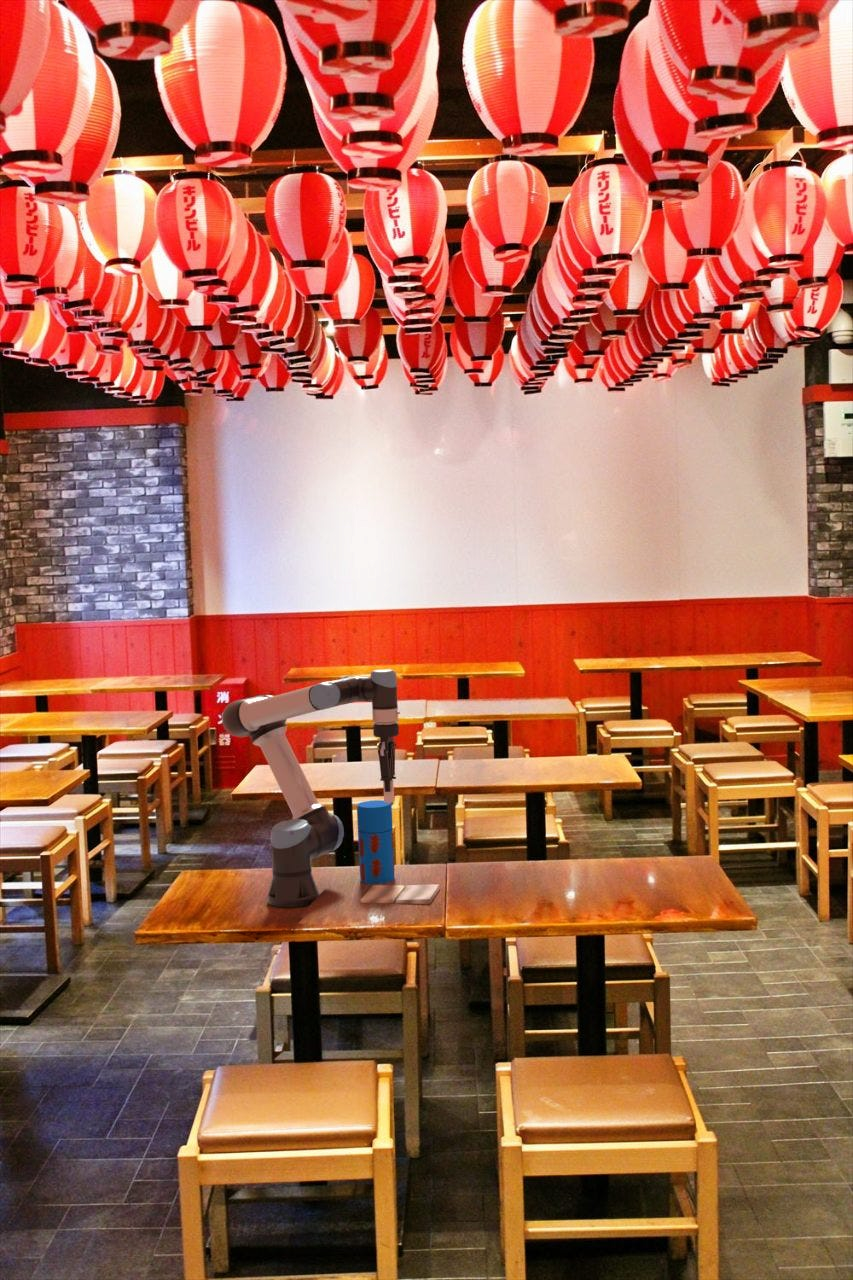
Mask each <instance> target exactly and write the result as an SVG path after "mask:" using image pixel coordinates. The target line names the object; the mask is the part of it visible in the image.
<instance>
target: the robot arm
mask: <svg viewBox="0 0 853 1280" xmlns="http://www.w3.org/2000/svg"><path fill="white" fill-rule="evenodd" d="M397 681H398V680H397V673H396V671H395V670H394V669H389V668H387V669H374V670H372V671H371V672H370V676H361V675H360V676H358V675H352V674H351V675H342V676H339V677H338V679H334V680H329V681H328V680H327V681H322V682H319V683H316V684H315V685H309V686H306V687H303V688H299V689H295V690H291V691H288V692H284V693H280V694H277V695H271V694H260V695H256V696H253V697H246V698H243V699H237V700H233V701H232V702H230V703H229V704H228V705H226V706H225V708H224V709H223V712H222V715H221V721H222V726H223V728H224V730H226V732H227V733H228V734H230V735H231V736H233V737H236V738H246V737H249V738H250V740H251V742H252V745H254V746H256V747H259V748H260V749H261V751H262V754H263V756H264V757H265V760H266V761H267V764H268V766H269V769H270V770H271V772H272V775H273V776H274V779H275V780H276V783H277V785H278V786H279V789H280V791H281V793H282V795H283V797H284V800H285V802H286V803H287V806H288V808H289V809H290V812H291V814H292V819H291V818H290V819H288V820H283V821H280V822H278V823H277V824H274V826H273V827H272V828H271V830H270V839H269V841H270V851H271V853H270V855H271V869H272V877H271V878H272V879H271V882H270V886H269V889H268V893H267V903H268V905H270V906H272V905H273V906H272V907H275V906H276V907H275V908H283V907H285V908H287V909H289V908H298V907H299V908H300V907H306V906H309V905H312V903H314V901H316V900H317V899H318V897H319V895H320V894H319V892H320V891H319V888H318V887H317V884H316V881H315V878H314V876H313V874H312V873H313V872H312V869H313V868H312V860H314V859H317V858H320V857H322V856H324V855H329V854H330V853H331V852H334V851H335V850H337V849H338V848H339V847H340V846H341V844H342V843H343V838H344V836H345V832H344V831H345V830H344V825H343V822H342V820H340V818H339V816H337V815H335V814H334V813H331V812H329V811H328V808H327V806H326V805H325V804H322V803H319V802H318V799H317V798H316V795H315V794H314V791H313V789H312V788H311V785H310V783H309V781H308V779H307V777H306V776H305V773H304V771H303V769H302V767H301V765H300V763H299V760H298V758H297V756H296V755H295V753H294V751H293V748H292V746H291V744H290V742H289V740H288V738H287V736H286V732H287V729H288V727H287V725H286V723H287V720H288V719H293V718H296V717H301V716H304V715H306V714H311V713H315V712H319V711H323V710H328V709H330V708H331V709H332V708H335V707H338V706H342V705H349V704H352V703H357V702H358V703H359V702H363V703H371V705H372V706H371V708H372V713H371V714H372V722H373V723H374V724H373V725H372V730H373V736H374V737H375V738H380V740H379V743H378V749H377V754H378V755H377V756H378V760H379V771H380V781H381V782H382V783H383V801H384V802H390V803H391V804H392V803H394V802H395V788H394V785H395V784H394V780H397V776H396V745H397V743H396V742H395V741H394V737H397V736H399V735H400V725H399V723H398V721H399V715H400V714H401V712H400V711H399V708H398V707H399V706H398V682H397Z"/></svg>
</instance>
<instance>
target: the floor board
mask: <svg viewBox="0 0 853 1280" xmlns="http://www.w3.org/2000/svg"><path fill="white" fill-rule="evenodd" d="M405 887H406V885H399V884H398V885H393V884H392V885H390V884H386V885H385V884H383V885H382V884H373V885H372V886H371V887H370V888H369V889H368V891H367V892H366V893H365V894H364V895H363V896H362V897H361V899H360V903H364V904H365V903H367V904H369V903H370V904H371V903H372V904H373V903H374V904H395V903H396V899H397V898H398V897H399V895H400V894H401V893H402V891H403V890H404V889H405Z"/></svg>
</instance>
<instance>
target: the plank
mask: <svg viewBox="0 0 853 1280" xmlns="http://www.w3.org/2000/svg"><path fill="white" fill-rule="evenodd" d="M440 889H441V886H440V884H436V883H435V884H412V885H411V884H407V885H405V889H404V890H403V891H402V893H401V894H400V895H399V897H398V898H397V899H396V901H395V903H396V904H409V905H410V904H412V905H413V904H414V905H415V904H418V905H430V904H431V903H432V901H433V900H434V899H435V897H436V896H437V894H438V893H439V891H440Z"/></svg>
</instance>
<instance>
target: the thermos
mask: <svg viewBox="0 0 853 1280" xmlns="http://www.w3.org/2000/svg"><path fill="white" fill-rule="evenodd" d="M356 818H357V821H356V823H357V837H358V838H357V840H358V862H359V878H360V881H361V882H362V883H365V884H370V885H372V884H373V885H381V884H386V883H390V882H392V881H394V880H395V855H394V854H395V853H394V852H395V851H394V832H393V831H394V829H393V808H392V802H384V800H380V799H379V800H376V799H375V800H367V801H361V802H359V803H357V805H356Z"/></svg>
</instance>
